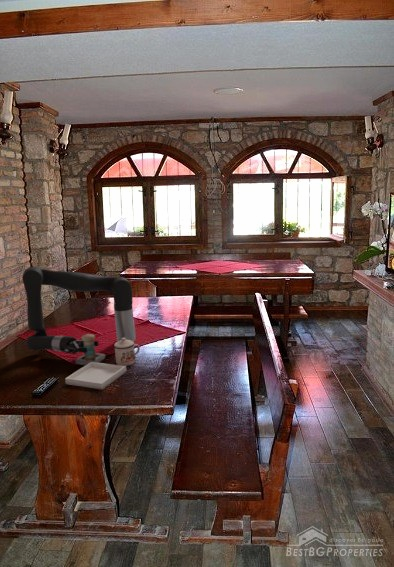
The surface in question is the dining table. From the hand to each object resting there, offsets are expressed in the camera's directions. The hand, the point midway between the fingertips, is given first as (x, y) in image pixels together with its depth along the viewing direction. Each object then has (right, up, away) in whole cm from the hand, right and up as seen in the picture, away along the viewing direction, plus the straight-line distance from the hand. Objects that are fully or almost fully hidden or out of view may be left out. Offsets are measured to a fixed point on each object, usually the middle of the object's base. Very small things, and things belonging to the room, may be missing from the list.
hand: (92, 347), depth 207 cm
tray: (+6, -11, -17) cm, 21 cm away
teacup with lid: (+17, -7, -1) cm, 18 cm away
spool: (-1, -7, +2) cm, 7 cm away
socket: (-1, -7, +2) cm, 7 cm away
